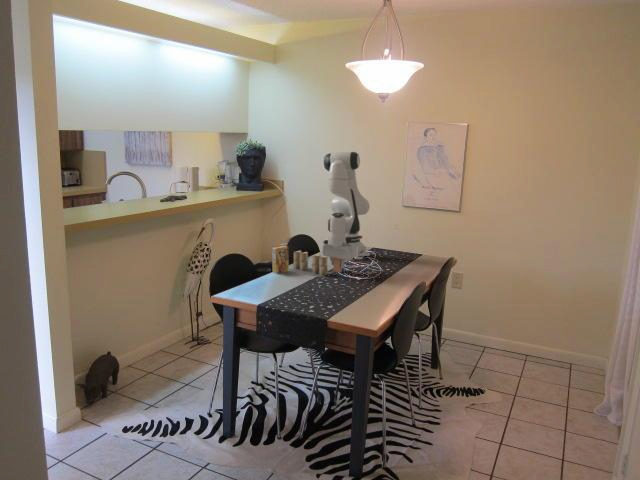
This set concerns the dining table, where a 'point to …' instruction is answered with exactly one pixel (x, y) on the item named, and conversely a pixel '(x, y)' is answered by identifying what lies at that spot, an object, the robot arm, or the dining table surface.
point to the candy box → (280, 259)
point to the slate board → (308, 272)
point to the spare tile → (337, 265)
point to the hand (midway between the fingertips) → (337, 265)
